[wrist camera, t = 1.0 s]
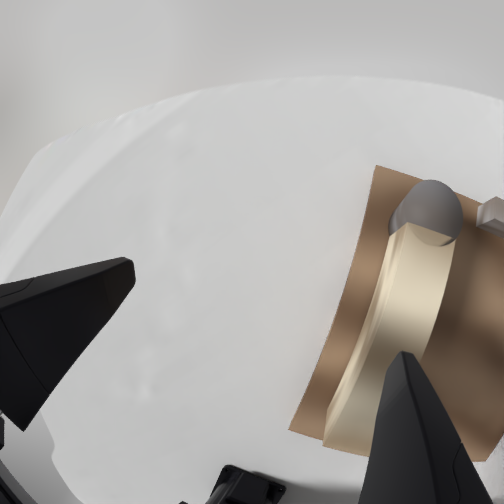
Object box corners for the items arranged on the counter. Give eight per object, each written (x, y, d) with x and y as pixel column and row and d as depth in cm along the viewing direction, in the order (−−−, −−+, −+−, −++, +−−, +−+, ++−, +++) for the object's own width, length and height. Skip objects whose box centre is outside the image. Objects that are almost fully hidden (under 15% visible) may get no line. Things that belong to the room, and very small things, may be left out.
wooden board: (480, 454, 13) (495, 476, 8) (291, 421, 19) (280, 449, 15) (552, 249, 13) (579, 243, 8) (373, 172, 19) (381, 147, 15)
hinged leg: (393, 197, 17) (410, 171, 12) (437, 212, 16) (466, 192, 11) (323, 408, 17) (317, 444, 12) (367, 420, 16) (373, 457, 11)
